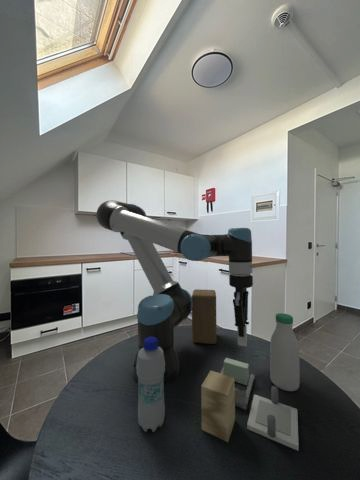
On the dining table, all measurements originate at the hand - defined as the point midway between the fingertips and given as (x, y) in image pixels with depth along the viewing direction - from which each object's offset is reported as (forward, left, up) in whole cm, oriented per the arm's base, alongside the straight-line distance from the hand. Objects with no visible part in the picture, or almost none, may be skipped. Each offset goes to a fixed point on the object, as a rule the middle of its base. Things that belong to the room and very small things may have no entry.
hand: (242, 344), depth 67 cm
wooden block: (-18, +12, -8) cm, 23 cm away
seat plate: (+11, -17, -7) cm, 21 cm away
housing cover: (0, -7, -7) cm, 10 cm away
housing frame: (0, -11, -7) cm, 13 cm away
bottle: (-14, -31, -8) cm, 35 cm away
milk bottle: (+13, -2, -8) cm, 15 cm away
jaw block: (0, -24, -8) cm, 25 cm away
